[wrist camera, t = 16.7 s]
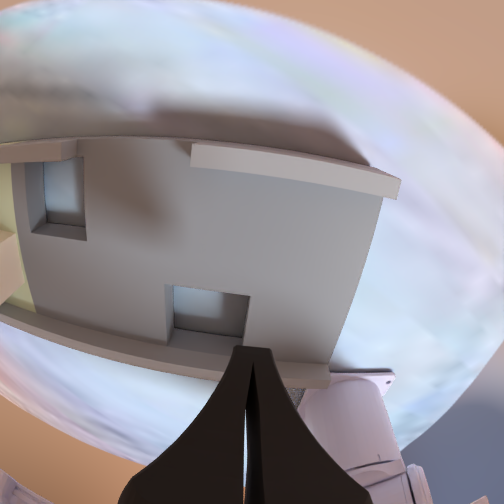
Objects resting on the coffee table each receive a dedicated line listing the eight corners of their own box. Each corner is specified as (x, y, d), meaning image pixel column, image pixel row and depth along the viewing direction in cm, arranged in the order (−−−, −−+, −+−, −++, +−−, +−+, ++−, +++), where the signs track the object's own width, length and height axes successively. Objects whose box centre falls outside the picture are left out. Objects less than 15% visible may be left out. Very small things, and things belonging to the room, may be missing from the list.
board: (319, 354, 21) (329, 400, 17) (11, 296, 20) (-15, 323, 16) (374, 167, 15) (411, 184, 11) (-12, 145, 14) (-52, 157, 10)
